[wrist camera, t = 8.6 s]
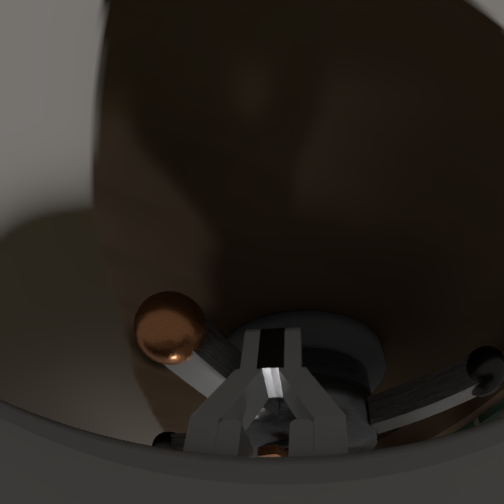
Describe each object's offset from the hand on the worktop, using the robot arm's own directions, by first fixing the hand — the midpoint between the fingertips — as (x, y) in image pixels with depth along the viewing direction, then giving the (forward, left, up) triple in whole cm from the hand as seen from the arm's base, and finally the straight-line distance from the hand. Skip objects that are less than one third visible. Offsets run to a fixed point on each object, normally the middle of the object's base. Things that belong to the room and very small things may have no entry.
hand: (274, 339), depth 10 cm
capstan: (-5, -4, -2) cm, 6 cm away
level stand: (-4, -22, -3) cm, 22 cm away
